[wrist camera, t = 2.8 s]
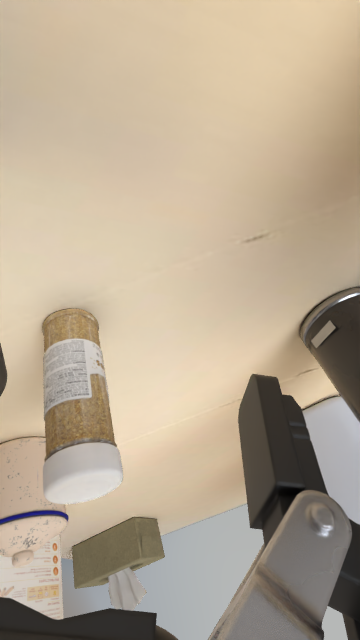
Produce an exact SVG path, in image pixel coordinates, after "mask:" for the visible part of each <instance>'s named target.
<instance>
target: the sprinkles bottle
mask: <svg viewBox="0 0 360 640" xmlns="http://www.w3.org/2000/svg"><path fill="white" fill-rule="evenodd" d="M98 330H99V327H98V322H97V320H96V319H95V317H93V315H92V314H90V313H88V312H86V311H84V310H80V309H65V310H61V311H57V312H55V313H53V314H52V315H49V317H48V318H47V319H46V320H45V322H44V323H43V327H42V332H43V335H44V352H45V354H44V358H43V362H44V420H45V434H46V456H45V459H44V461H45V463H44V465H43V490H44V496H45V498H46V499H47V500H48V501H50V502H52V503H57V504H75V503H81V502H86V501H90V500H93V499H96V498H99V497H101V496H104V495H106V494H108V493H110V492H111V491H113V490H114V489H116V488H117V487H118V486H119V485H120V484H121V482H122V480H123V470H122V463H121V457H120V452H119V450H118V449H117V445H116V443H115V441H114V433H113V427H112V420H111V414H110V407H109V395H108V389H107V382H106V376H105V369H104V363H103V356H102V351H101V349H100V342H99V337H98Z"/></svg>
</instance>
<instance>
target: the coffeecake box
mask: <svg viewBox="0 0 360 640" xmlns="http://www.w3.org/2000/svg"><path fill="white" fill-rule="evenodd" d="M33 553H34V559H33V561H32V562H31V563H30V564H28V565H25V566H21V567H14V566H13V565H12V558H13V557H4V556H1V555H0V597H5V598H11V599H13V600H16V601H18V602H20V603H22V604H24V605H26V606H28V607H30V608H32V609H34V610H36V611H38V612H40V613H42V614H44V615H46V616H48V617H50V618H52V619H57V620H59V619H63V600H62V599H63V597H62V573H61V549H60V534H59V535H57V536H56V537H54V538H52V539H50V540H49V541H48V542H47V543H46V544H45V545H44V546H43V547H42V548H40V549H39V550H37V551H35V552H33Z"/></svg>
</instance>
